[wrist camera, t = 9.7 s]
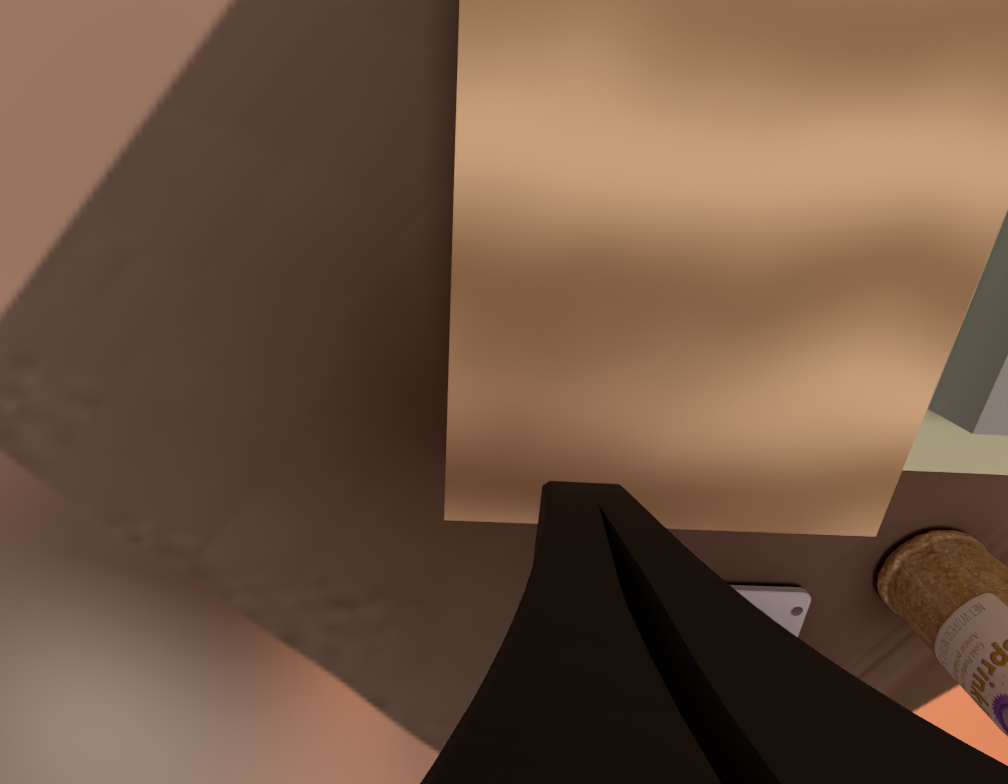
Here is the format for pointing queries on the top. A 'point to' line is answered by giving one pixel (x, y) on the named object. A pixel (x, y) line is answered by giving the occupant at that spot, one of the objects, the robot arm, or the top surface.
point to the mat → (956, 441)
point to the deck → (714, 249)
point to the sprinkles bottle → (955, 610)
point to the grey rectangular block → (980, 354)
